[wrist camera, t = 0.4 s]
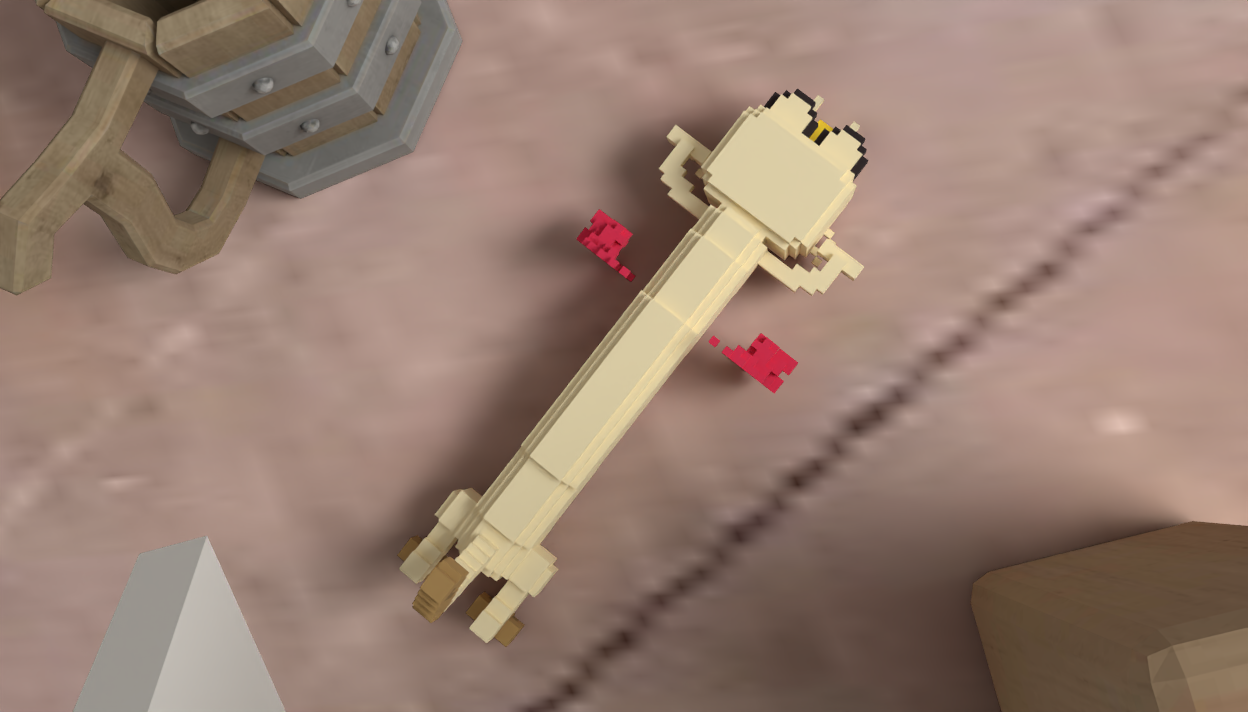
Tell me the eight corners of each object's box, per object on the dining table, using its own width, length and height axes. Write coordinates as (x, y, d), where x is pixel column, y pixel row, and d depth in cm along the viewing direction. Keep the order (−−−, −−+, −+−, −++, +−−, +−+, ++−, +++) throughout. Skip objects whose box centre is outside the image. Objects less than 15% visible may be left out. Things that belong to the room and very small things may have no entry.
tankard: (240, -133, 53) (52, -372, 38) (498, -35, 51) (407, -244, 37) (51, 278, 52) (-219, 197, 37) (310, 390, 50) (137, 353, 35)
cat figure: (559, 666, 50) (935, 189, 48) (512, 722, 41) (969, 143, 40) (380, 515, 51) (742, 47, 50) (297, 539, 42) (733, -28, 41)
